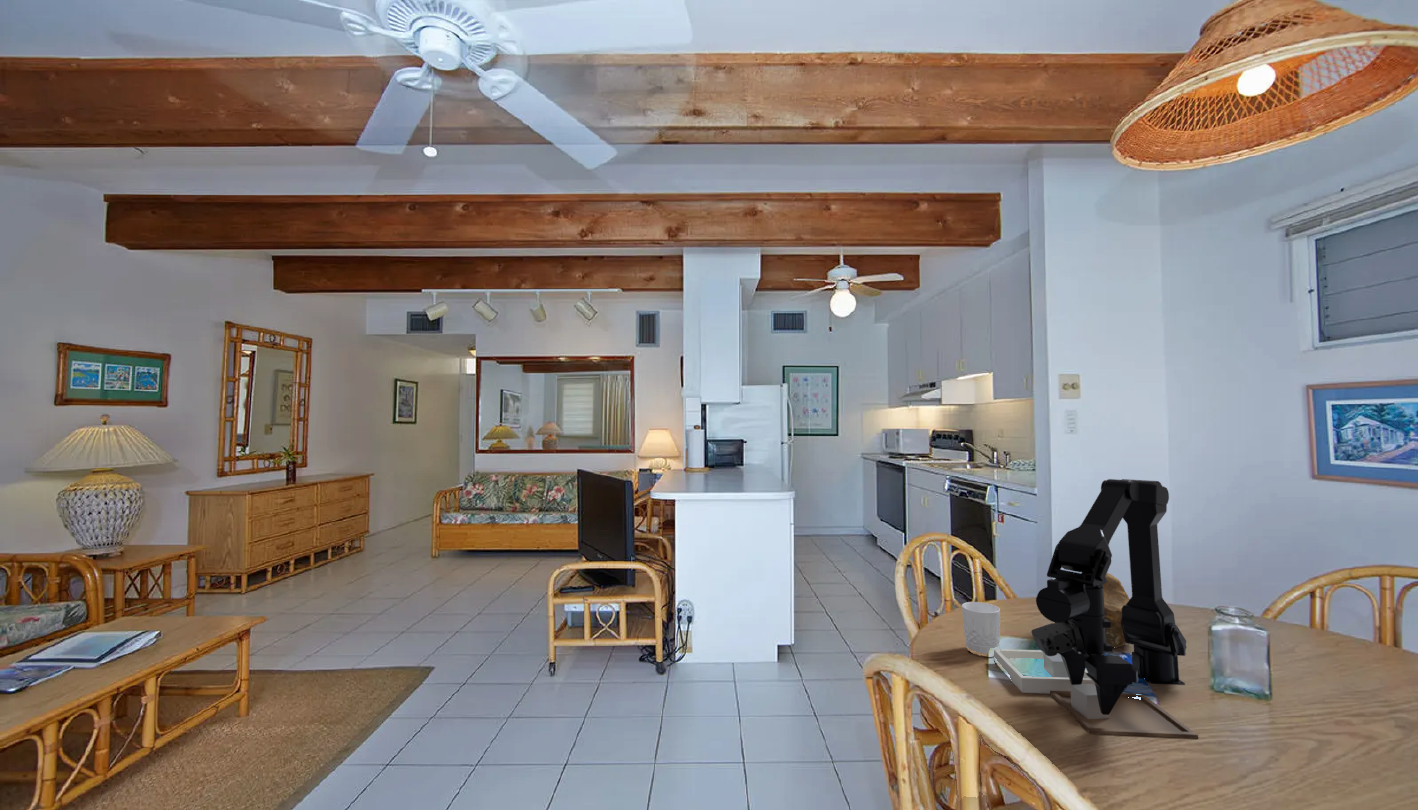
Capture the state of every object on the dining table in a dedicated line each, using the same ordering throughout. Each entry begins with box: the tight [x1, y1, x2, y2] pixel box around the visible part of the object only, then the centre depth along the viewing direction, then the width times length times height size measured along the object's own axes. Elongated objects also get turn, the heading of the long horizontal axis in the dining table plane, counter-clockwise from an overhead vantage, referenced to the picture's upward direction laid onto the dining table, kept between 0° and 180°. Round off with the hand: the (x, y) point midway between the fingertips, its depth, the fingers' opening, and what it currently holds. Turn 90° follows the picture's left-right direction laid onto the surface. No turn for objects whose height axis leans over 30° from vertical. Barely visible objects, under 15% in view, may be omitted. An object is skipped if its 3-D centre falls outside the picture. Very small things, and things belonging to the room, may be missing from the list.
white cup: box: [961, 601, 1001, 654], centre depth 127 cm, size 8×8×10 cm
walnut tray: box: [1049, 691, 1199, 739], centre depth 97 cm, size 16×14×1 cm
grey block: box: [1043, 653, 1069, 678], centre depth 111 cm, size 4×4×4 cm
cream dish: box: [993, 648, 1095, 695], centre depth 112 cm, size 14×14×3 cm
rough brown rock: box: [1054, 572, 1130, 649], centre depth 133 cm, size 23×17×15 cm
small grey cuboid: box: [1070, 684, 1110, 719], centre depth 98 cm, size 4×4×4 cm
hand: (1089, 701), depth 98 cm, fingers open, 9 cm apart
